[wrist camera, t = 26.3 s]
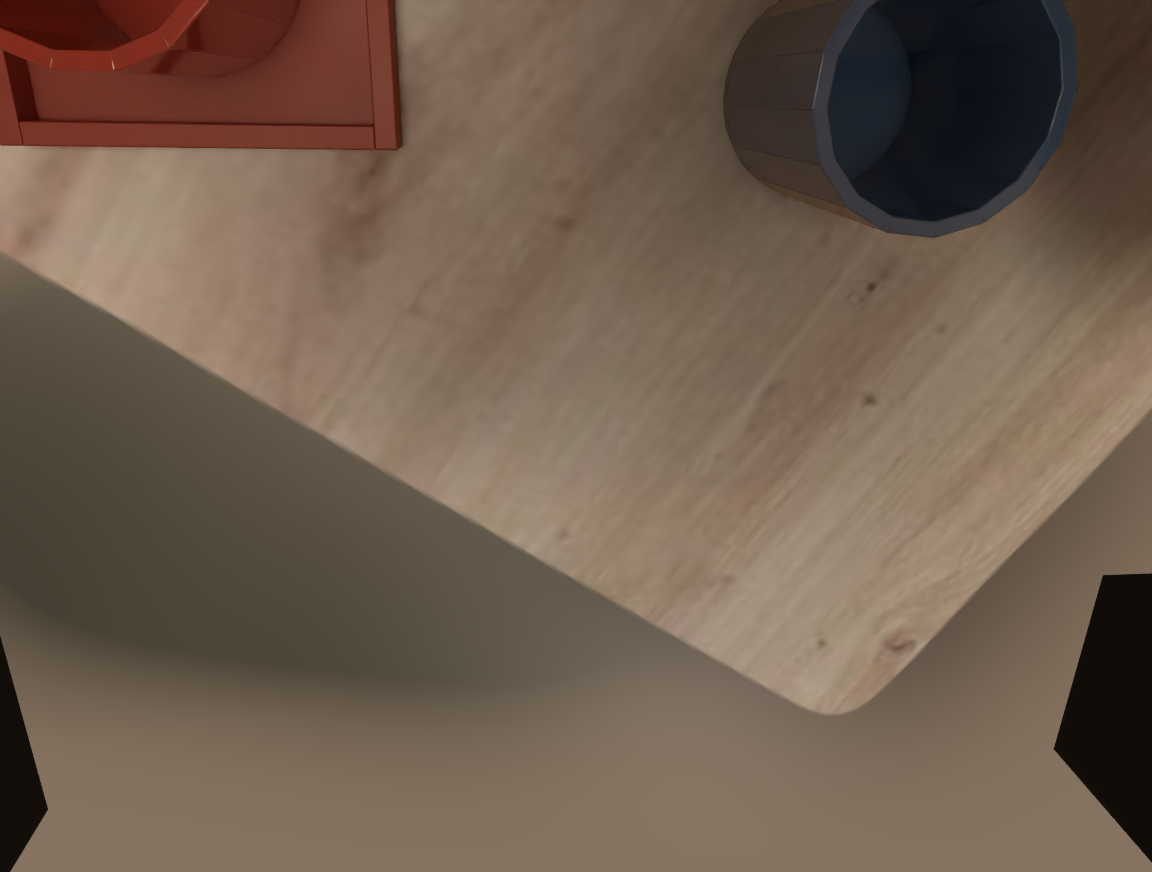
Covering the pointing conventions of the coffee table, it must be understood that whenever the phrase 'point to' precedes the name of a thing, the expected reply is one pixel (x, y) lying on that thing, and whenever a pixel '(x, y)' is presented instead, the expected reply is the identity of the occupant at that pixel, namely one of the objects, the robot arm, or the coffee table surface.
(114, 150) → the coffee table surface
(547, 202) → the coffee table surface
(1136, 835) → the robot arm
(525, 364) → the coffee table surface
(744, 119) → the blue cup
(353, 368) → the coffee table surface
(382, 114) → the red tray
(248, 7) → the red cup
